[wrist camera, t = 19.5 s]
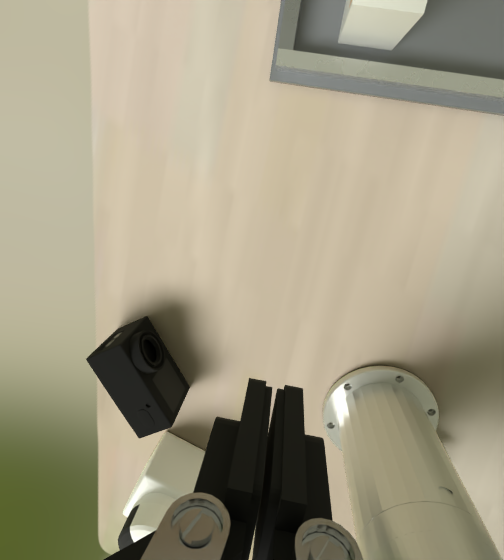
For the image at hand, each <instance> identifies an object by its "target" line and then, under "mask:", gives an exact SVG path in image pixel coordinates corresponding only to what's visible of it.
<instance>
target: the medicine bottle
mask: <svg viewBox="0 0 504 560" xmlns="http://www.w3.org/2000/svg"><path fill="white" fill-rule="evenodd" d="M205 452H206V451H204V450H202V449H200V448H198V447H196V446H194V445H192V444H190V443H189V442H187V441H185V440H183V439H181V438H179V437H177V436H175V435H173V434H171V433H169V432H165V433H164V435H163V436H162V438H161V440H160V441H159V443H158V445H157V446H156V448H155V450H154V452H153V453H152V455H151V457H150V458H149V460H148V462H147V464H146V465H145V467H144V469H143V471H142V473H141V475H140V477H139V479H138V481H137V483H136V486H135V488H134V490H133V492H132V494H131V496H130V498H129V500H128V502H127V504H126V506H125V508H124V510H123V514H124V515H125V516H127V517H128V518H127V520H126V522H125V524H124V527H123V529H122V531H121V533H120V535H119V538H118V545H119V549H120V550H122V549H123V548H125V547H127V546H129V545H130V544H132V543H134V542H136V541H138V540H139V539H141V538H143V537H145V536H146V535H148V534H150V533H152V532H153V531H155V530H157V528H158V526H159V524H160V522H161V521H162V519H163V517H164V515H165V513H166V511H167V510H168V508H169V507H170V506H171V504H172V503H173V502H174V501H176V500H177V499H178V498H180V497H181V496H184V495H186V494H189V493H193V491H194V488H195V485H196V481H197V478H198V475H199V471H200V468H201V465H202V461H203V458H204V455H205Z"/></svg>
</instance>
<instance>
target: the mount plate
mask: <svg viewBox="0 0 504 560" xmlns="http://www.w3.org/2000/svg"><path fill="white" fill-rule="evenodd" d="M345 3H346V0H302V4H301V10H300V16H299V23H298V29H297V35H296V41H295V47H294V50H295V51H302V52H309V53H316V54H323V55H330V56H337V57H345V58H352V59H359V60H366V61H373V62H380V63H387V64H394V65H402V66H409V67H416V68H423V69H430V70H437V71H444V72H451V73H459V74H466V75H473V76H480V77H487V78H494V79H501V80H504V0H427V4H426V8H425V12H424V14H423V15H422V17H421V18H420V19H419V20H418V21H417V22H416V23H415V25H414V26H413V27H412V28H411V29H410V30H409V31H408V32H407V34H406V35H405V36H404V37H403V38H402V39H401V40H400V41H399V43H398V44H397V45H396V46H395V47H394V48H393V49H392V50H384V49H376V48H369V47H362V46H355V45H348V44H340V43H338V39H339V34H340V29H341V23H342V18H343V13H344V8H345ZM284 6H285V0H281V6H280V13H279V19H278V26H277V33H276V40H275V47H274V54H273V60H272V67H271V74H270V81H271V82H277V83H284V84H291V85H298V86H305V87H312V88H319V89H325V90H332V91H339V92H346V93H353V94H360V95H367V96H373V97H380V98H387V99H394V100H401V101H408V102H415V103H421V104H428V105H435V106H442V107H449V108H456V109H463V110H469V111H476V112H483V113H490V114H497V115H504V103H498V102H491V101H484V100H477V99H470V98H464V97H457V96H450V95H443V94H436V93H429V92H422V91H415V90H408V89H401V88H394V87H387V86H380V85H373V84H366V83H359V82H352V81H345V80H338V79H331V78H325V77H318V76H311V75H304V74H297V73H290V72H283V71H277V69H276V59H277V53H278V46H279V39H280V33H281V26H282V19H283V13H284Z"/></svg>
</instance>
